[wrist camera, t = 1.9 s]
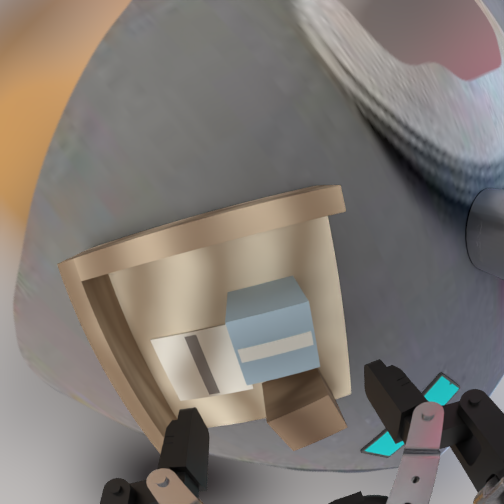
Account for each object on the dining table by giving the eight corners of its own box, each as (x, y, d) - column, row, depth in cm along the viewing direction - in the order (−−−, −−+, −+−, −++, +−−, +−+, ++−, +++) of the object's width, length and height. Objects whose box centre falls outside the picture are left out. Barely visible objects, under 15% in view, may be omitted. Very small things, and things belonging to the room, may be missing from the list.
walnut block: (312, 358, 23) (328, 395, 18) (331, 391, 24) (347, 427, 19) (261, 383, 23) (267, 422, 18) (285, 413, 24) (293, 451, 19)
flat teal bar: (360, 452, 28) (442, 373, 26) (358, 448, 29) (439, 370, 26) (388, 458, 29) (461, 387, 27) (386, 454, 30) (458, 384, 28)
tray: (316, 185, 21) (340, 184, 16) (347, 386, 25) (364, 420, 20) (90, 248, 21) (57, 264, 16) (172, 423, 25) (164, 458, 20)
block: (292, 275, 21) (309, 301, 16) (304, 331, 22) (320, 367, 17) (227, 292, 21) (225, 323, 16) (244, 347, 22) (246, 386, 17)
